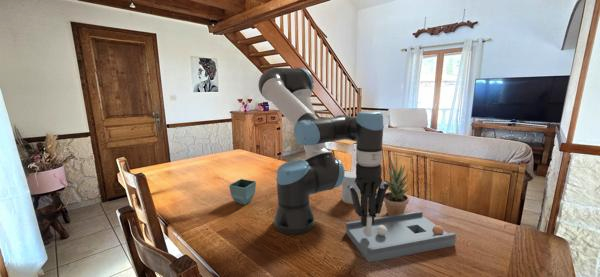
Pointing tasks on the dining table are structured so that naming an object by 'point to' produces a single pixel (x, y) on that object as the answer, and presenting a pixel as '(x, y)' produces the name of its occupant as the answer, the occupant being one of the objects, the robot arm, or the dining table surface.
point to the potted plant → (396, 192)
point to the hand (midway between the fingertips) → (367, 234)
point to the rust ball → (438, 230)
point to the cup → (347, 181)
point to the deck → (398, 236)
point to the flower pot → (242, 190)
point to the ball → (381, 230)
